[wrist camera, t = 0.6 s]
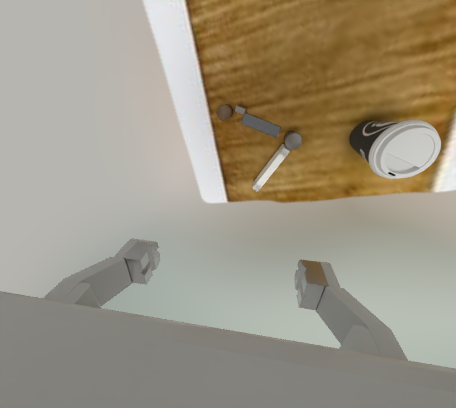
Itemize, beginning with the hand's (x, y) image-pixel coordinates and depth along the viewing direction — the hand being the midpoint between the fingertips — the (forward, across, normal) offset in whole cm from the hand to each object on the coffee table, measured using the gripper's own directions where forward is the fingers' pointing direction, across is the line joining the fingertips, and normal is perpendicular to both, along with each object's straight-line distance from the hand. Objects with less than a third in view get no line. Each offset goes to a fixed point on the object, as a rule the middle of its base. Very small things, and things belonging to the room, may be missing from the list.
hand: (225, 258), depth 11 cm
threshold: (+41, -2, -2) cm, 41 cm away
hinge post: (+41, -9, 0) cm, 42 cm away
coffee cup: (+41, -25, -1) cm, 48 cm away
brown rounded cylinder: (+41, +5, -5) cm, 42 cm away
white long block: (+40, -5, +7) cm, 41 cm away
